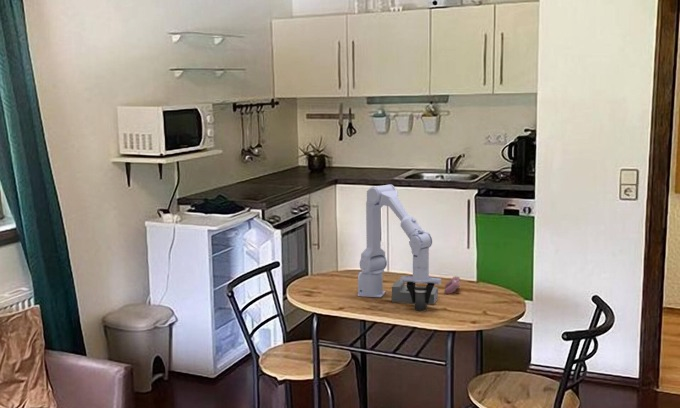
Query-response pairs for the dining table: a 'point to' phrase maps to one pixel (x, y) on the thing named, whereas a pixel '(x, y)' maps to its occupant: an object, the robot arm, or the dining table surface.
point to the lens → (420, 298)
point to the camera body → (403, 294)
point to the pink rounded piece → (452, 285)
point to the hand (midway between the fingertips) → (420, 302)
